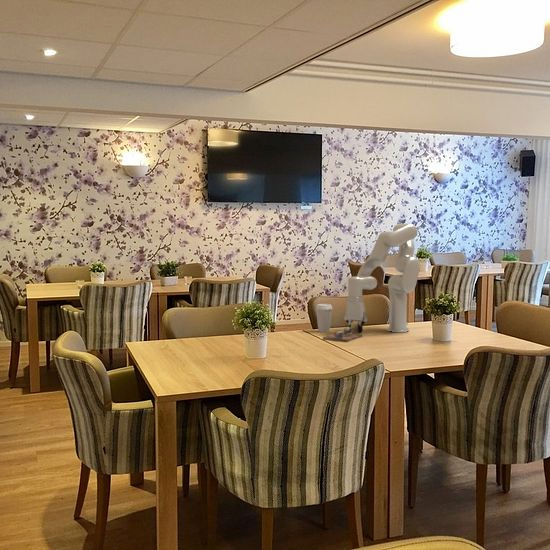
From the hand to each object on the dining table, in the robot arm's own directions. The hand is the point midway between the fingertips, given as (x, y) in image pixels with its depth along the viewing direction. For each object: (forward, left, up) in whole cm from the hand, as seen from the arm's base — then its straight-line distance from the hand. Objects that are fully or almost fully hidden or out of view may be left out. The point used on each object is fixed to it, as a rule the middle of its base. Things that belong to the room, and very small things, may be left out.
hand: (355, 332), depth 341 cm
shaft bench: (+15, 0, -1) cm, 15 cm away
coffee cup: (+3, -18, -1) cm, 19 cm away
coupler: (0, 0, 0) cm, 0 cm away
